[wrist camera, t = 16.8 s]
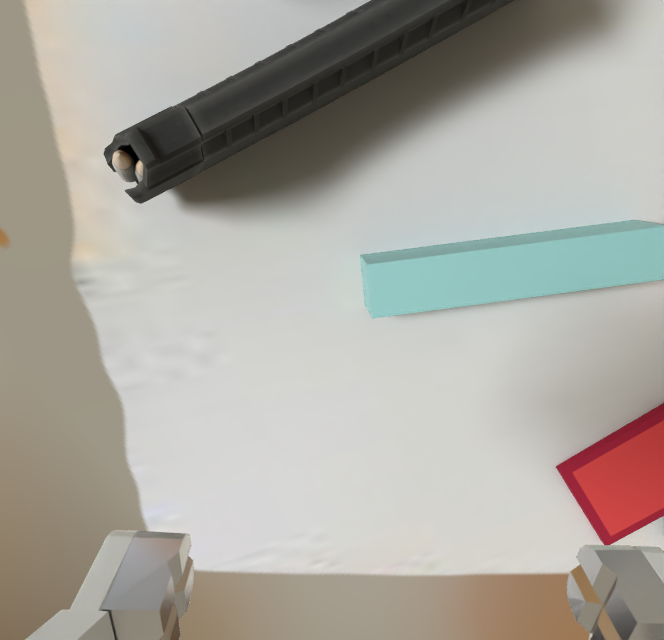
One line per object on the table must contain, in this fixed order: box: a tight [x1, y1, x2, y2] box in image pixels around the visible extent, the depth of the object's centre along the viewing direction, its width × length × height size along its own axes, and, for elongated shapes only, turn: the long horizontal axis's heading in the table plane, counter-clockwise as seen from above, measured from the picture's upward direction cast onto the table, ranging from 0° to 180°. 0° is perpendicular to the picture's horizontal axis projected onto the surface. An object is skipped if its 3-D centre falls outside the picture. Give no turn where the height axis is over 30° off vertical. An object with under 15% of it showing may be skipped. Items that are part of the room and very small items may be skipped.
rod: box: [360, 220, 664, 318], centre depth 35 cm, size 4×22×4 cm, turn 96°
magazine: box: [104, 0, 514, 203], centre depth 27 cm, size 17×3×30 cm
